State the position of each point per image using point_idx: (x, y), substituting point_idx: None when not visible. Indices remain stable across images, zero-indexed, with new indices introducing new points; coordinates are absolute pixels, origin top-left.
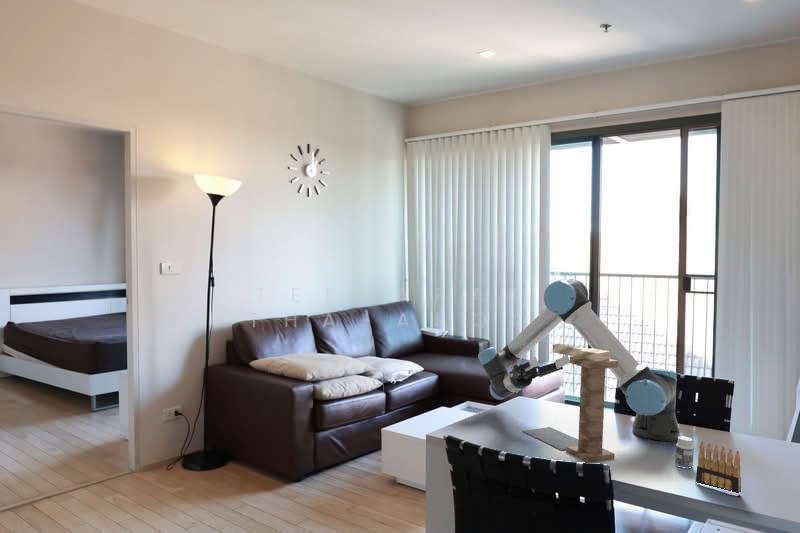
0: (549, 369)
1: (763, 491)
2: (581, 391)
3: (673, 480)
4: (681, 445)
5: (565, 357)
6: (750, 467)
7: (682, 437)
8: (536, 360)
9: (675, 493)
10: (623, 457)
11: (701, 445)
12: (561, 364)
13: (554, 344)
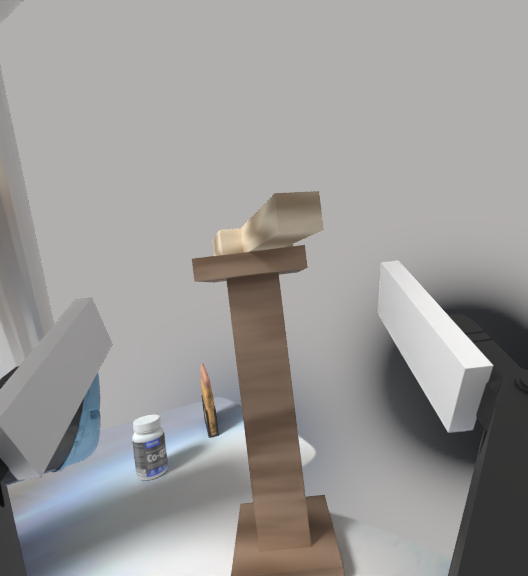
0: (18, 566)
1: (165, 421)
2: (288, 359)
3: (235, 443)
4: (160, 428)
5: (91, 317)
6: None
7: (145, 421)
8: (383, 286)
9: None
10: (214, 517)
11: (208, 377)
12: (73, 395)
13: (306, 192)
